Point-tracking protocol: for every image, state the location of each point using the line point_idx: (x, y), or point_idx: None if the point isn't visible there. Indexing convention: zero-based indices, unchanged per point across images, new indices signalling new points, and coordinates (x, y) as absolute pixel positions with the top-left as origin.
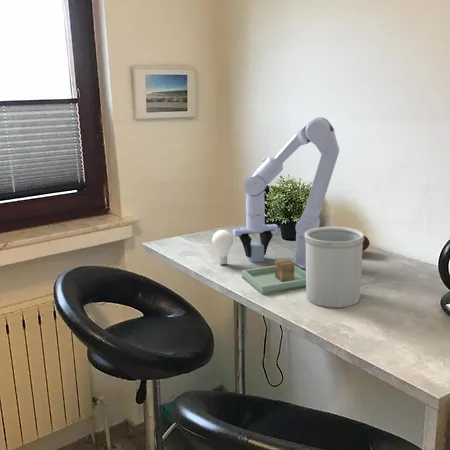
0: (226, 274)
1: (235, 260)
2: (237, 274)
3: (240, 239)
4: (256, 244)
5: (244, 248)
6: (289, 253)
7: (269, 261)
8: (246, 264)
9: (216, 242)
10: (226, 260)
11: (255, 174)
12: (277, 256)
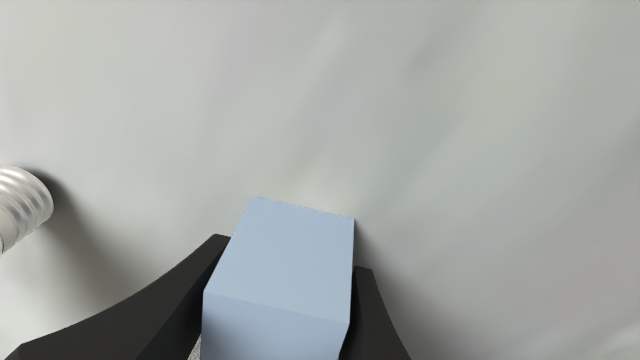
0: (23, 316)
1: (149, 172)
2: None
3: (74, 328)
4: (280, 352)
5: (174, 274)
6: (610, 294)
7: None
8: None
9: None
10: (26, 233)
11: None
12: (478, 286)
